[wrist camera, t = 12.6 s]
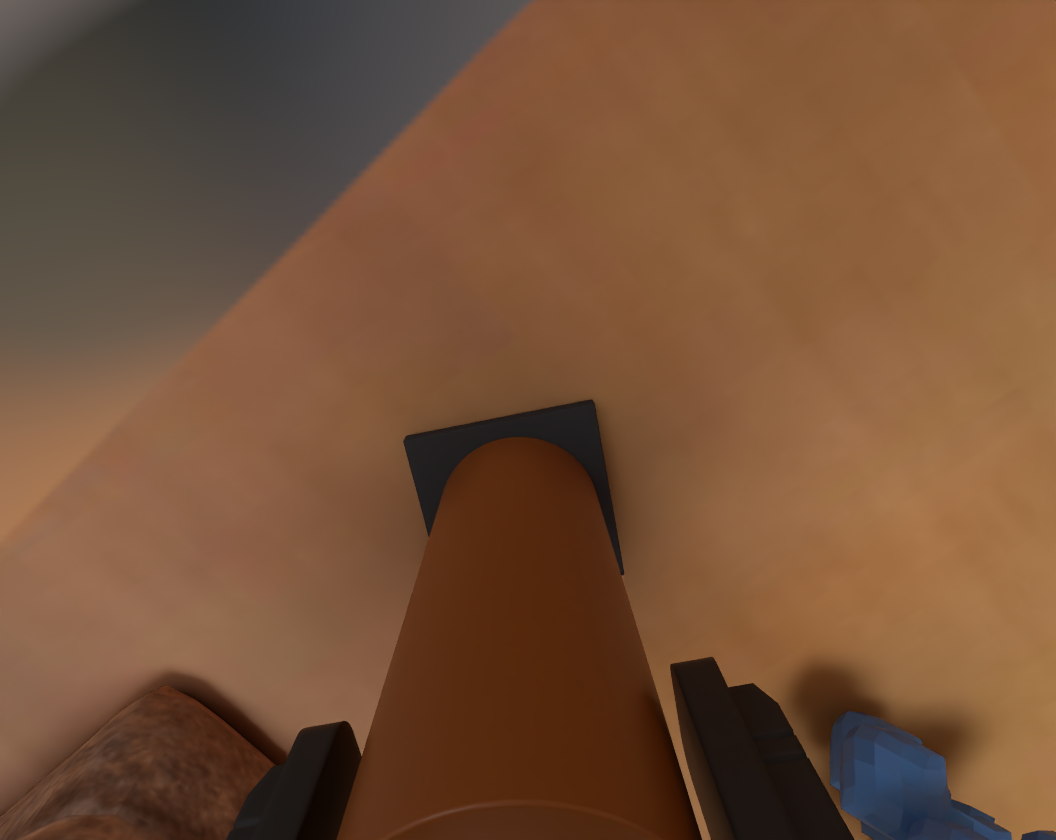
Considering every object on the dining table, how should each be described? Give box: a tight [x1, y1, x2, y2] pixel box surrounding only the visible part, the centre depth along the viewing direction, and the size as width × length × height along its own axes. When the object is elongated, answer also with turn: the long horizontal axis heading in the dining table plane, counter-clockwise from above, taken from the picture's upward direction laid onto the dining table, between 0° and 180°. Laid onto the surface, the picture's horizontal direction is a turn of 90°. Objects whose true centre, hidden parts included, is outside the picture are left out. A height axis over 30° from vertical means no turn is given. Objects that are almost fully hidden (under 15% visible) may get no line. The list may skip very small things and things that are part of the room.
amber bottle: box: [336, 437, 702, 840], centre depth 13 cm, size 5×5×14 cm
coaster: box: [403, 400, 624, 575], centre depth 20 cm, size 6×6×1 cm
